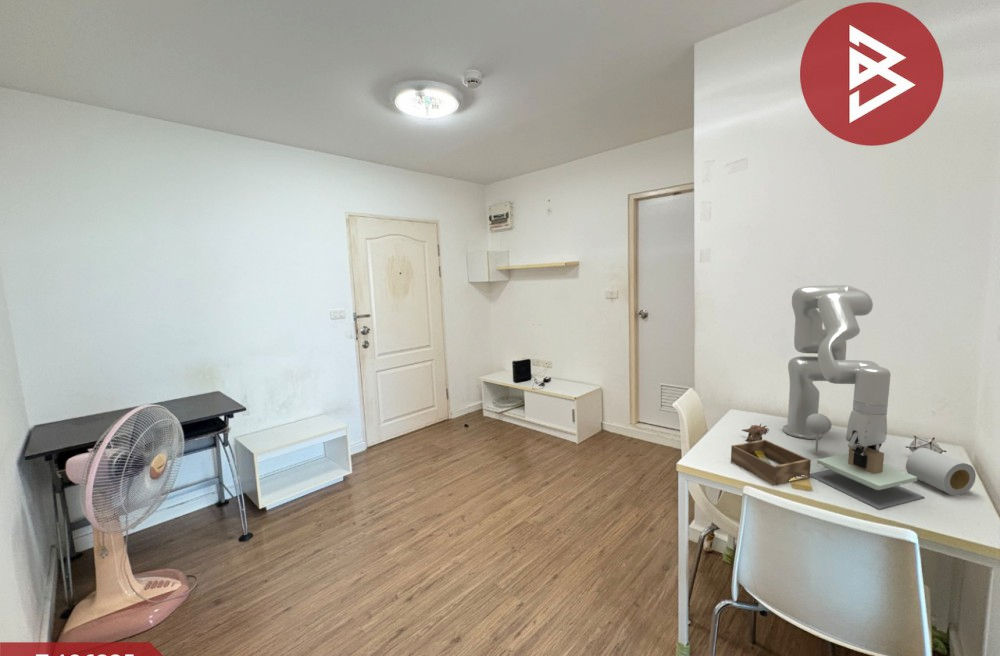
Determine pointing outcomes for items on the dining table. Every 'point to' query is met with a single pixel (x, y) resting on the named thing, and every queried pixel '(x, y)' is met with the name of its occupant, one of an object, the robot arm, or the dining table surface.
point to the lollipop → (818, 426)
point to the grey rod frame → (925, 445)
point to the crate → (772, 474)
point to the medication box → (761, 456)
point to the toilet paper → (941, 471)
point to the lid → (867, 470)
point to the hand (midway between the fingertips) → (864, 464)
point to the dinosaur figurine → (755, 432)
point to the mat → (866, 490)
